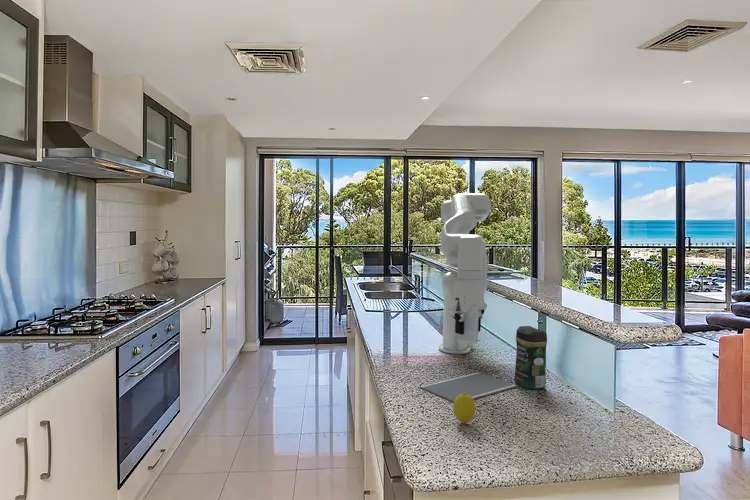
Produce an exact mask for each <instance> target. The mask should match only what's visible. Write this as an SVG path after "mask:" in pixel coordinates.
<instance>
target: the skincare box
mask: <svg viewBox="0 0 750 500" xmlns="http://www.w3.org/2000/svg"><path fill="white" fill-rule="evenodd" d="M459 311H461V309H459ZM460 315H461V313H459V316H460ZM478 319H479V311H478V305H473V306H472V309H471V312H469V313H465V316H464V319H463V322H464V334H463V335H461V334H458V336H457V342H458V343H469V345H477V344H478V342H479V332H478Z"/></svg>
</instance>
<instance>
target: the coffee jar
mask: <svg viewBox="0 0 750 500" xmlns="http://www.w3.org/2000/svg"><path fill="white" fill-rule="evenodd" d="M515 333H516V334H515V341H516V343H515V344H516V352H515V353H516V354H515V355H516V356H515V366H514V367H515V368H514V379H513V380H514V382H515V383H516V384H517V385H519V386H521V387H523V388H525V389H527V390H529V389H530V390H534V391H535V390H536V389H537V390H541V389H543V388H545V387H546V348H547V345H548V335H547V332H545V331H544V330H541V329H538V328H536V327H533V326H531V325H523V326H521V325H520V326H519V327H518V328H517V329H516V332H515Z"/></svg>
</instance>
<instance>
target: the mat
mask: <svg viewBox="0 0 750 500" xmlns="http://www.w3.org/2000/svg"><path fill="white" fill-rule="evenodd" d="M517 387H518V386H517V385H516V384H513V383H509V382H506V381H504V380H500V379H498V378H495V377H492V376H489V375H486V374H484V373H481V372H474V373H470V374H466V375H461V376H457V377H454V378H453V377H452V378H450V379H446V380H441V381H439V382H438V381H437V382H435V383H434V382H433V383H428V384H424V385H421V386H419V389H421V390H424V391H426V392H428V393H431V394H433V395H435V396H438V397H439V398H441V399H442V398H443V399H444V400H447V401H449V402H452V403H453V404H454V401H455V398H456V397H457V396H458V395H460V394H462V393H464V392H465V393H467V394H468V395H470V396H471V397H472V398H473V400H474V401H475V400H478V399H481V398H484V397H488V396H491V395H494V394H498V393H502V392H506V391H508V390H511V389H512V390H513V389H514V388H517Z"/></svg>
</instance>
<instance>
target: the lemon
mask: <svg viewBox="0 0 750 500" xmlns="http://www.w3.org/2000/svg"><path fill="white" fill-rule="evenodd" d="M452 407H453V408H452V409H453V415H454V417H455V418H456V420H458V421H460V422H461V423H462V424H466V423H468V422H470V421H471V420H473V418H474V417H475V414H476V402H475V400H473V398H472V397H471V396H470V395H468V394H467V393H465V392H464V393H462V394H460V395H458V396H457V397H456V398H455V401H454V403H453V406H452Z"/></svg>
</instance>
